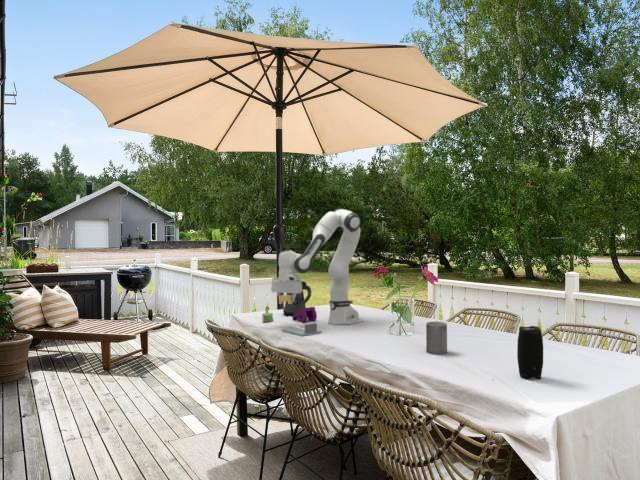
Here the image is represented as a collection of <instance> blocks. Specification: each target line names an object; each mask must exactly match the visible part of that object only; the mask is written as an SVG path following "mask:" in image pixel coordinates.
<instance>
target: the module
mask: <svg viewBox="0 0 640 480" xmlns="http://www.w3.org/2000/svg"><path fill="white" fill-rule="evenodd" d="M280 295H281V294H280ZM292 297H293V295H287V294H282V295H281V296H279V297H278V304H279V305H282V304H285V302H286V301H288V304H292V303H293V301H291V298H292Z"/></svg>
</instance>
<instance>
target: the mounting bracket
mask: <svg viewBox="0 0 640 480" xmlns="http://www.w3.org/2000/svg"><path fill="white" fill-rule="evenodd" d="M316 311H317V310H316V307H315V306H311V307H310V306H308V307H306V308H301V309H300V310H299V311H297V312H296V313H295V314H293V315H292V317H291V318H292V319H293V320H298V323H300V322H301V324H304V323H305V324H306V323H307V321H308V322H310V321H311V323H314V322H316V321H317V317H318V316H317V314H318V313H317V312H316ZM313 321H314V322H313Z"/></svg>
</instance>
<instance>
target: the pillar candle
mask: <svg viewBox="0 0 640 480" xmlns="http://www.w3.org/2000/svg"><path fill="white" fill-rule="evenodd" d="M425 325H426V327H425V328H426V330H425V333H426V337H425V340H426V341H425V344H426V347H425V348H426V350H425V351H426V352H425V353H427V354H431V355H438V356H439V355H445V354H447V353H448V323H446V322H444V321H437V320H436V321H429V322H426V324H425Z"/></svg>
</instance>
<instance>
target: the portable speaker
mask: <svg viewBox="0 0 640 480" xmlns="http://www.w3.org/2000/svg"><path fill="white" fill-rule="evenodd" d="M516 353H517V356H516V357H517V359H516V360H517V365H518V373H519V376H520V378H521V379H524V380H530V379H532V378H533V379H536V380H541V379H542V373H543V368H544V339H543V334H542V328H540V327H539V326H536V325H530V326H523V325H522V326H519V328H518V337H517V352H516Z"/></svg>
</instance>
